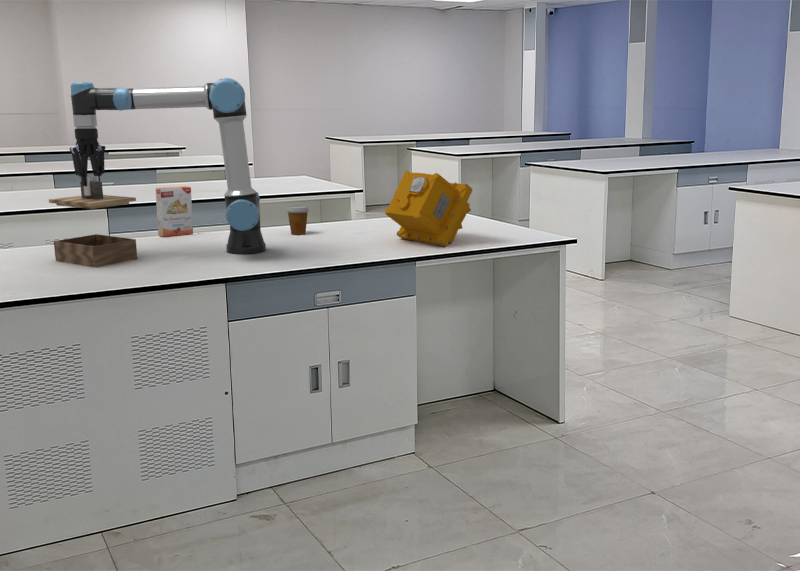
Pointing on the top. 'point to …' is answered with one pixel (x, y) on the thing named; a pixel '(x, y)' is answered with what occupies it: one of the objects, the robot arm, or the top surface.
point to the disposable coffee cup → (297, 219)
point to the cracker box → (174, 211)
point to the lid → (92, 198)
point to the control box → (429, 208)
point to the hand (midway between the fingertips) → (92, 194)
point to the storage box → (95, 250)
